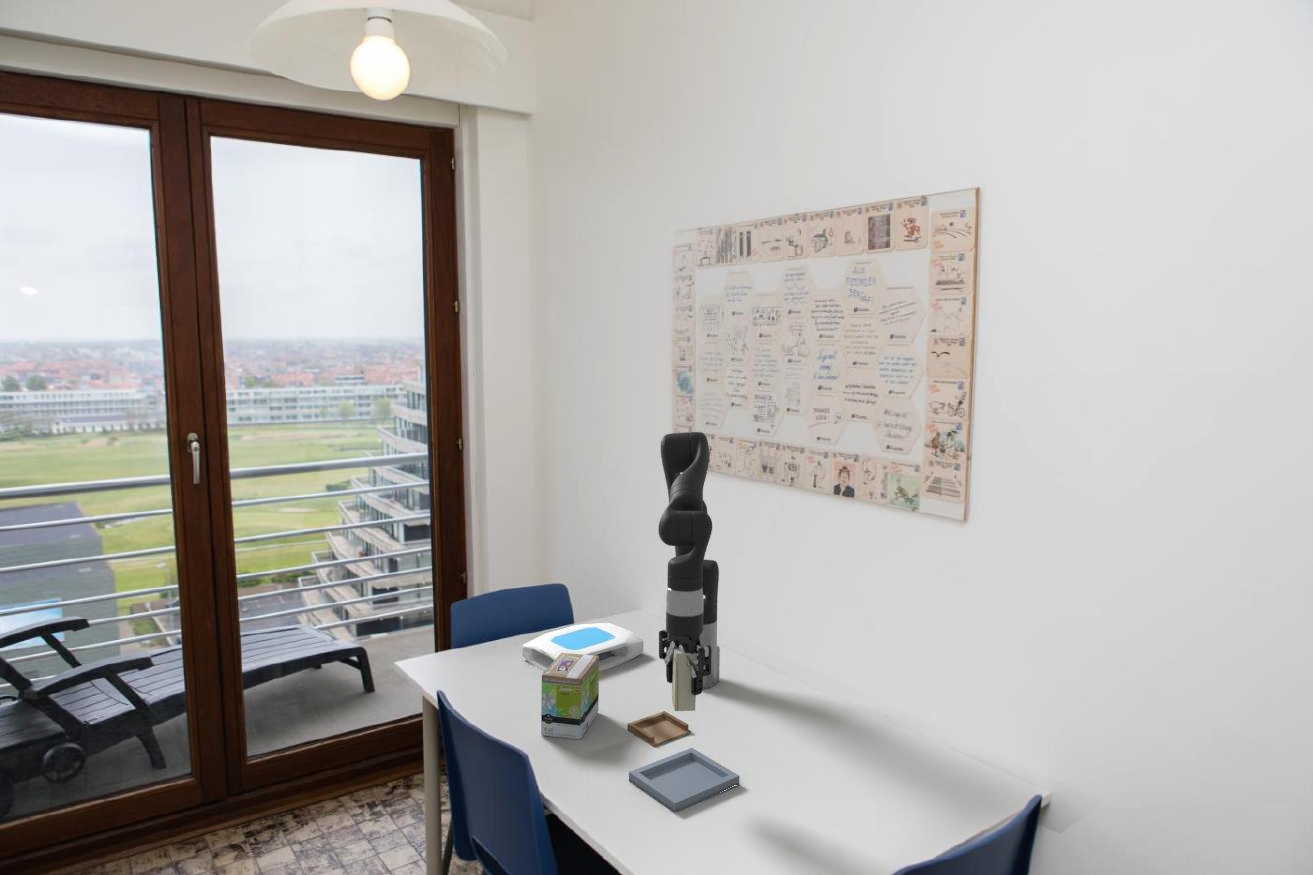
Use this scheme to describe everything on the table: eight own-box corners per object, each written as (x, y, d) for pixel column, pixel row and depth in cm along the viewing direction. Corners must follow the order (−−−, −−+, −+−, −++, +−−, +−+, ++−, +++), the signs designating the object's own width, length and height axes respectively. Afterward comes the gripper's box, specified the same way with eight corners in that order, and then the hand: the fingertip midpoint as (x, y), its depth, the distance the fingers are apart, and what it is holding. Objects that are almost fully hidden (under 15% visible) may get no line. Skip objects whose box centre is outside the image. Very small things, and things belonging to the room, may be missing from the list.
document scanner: (521, 660, 240) (521, 639, 240) (599, 637, 259) (599, 618, 258) (564, 683, 225) (564, 660, 224) (644, 657, 243) (644, 636, 242)
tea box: (582, 740, 192) (581, 678, 190) (540, 736, 194) (539, 674, 192) (599, 712, 207) (599, 654, 205) (560, 708, 209) (559, 650, 207)
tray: (691, 756, 185) (691, 747, 185) (739, 784, 173) (739, 775, 173) (628, 781, 175) (628, 771, 174) (674, 813, 163) (674, 803, 163)
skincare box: (671, 699, 175) (671, 642, 174) (692, 698, 175) (693, 641, 174) (674, 712, 169) (675, 653, 167) (696, 711, 169) (697, 652, 168)
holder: (664, 717, 204) (664, 711, 204) (691, 733, 196) (691, 726, 196) (627, 730, 197) (627, 723, 197) (653, 746, 189) (653, 739, 189)
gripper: (722, 614, 167) (721, 694, 168) (676, 597, 178) (676, 672, 180) (693, 621, 162) (692, 704, 164) (648, 603, 173) (647, 681, 175)
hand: (684, 687), depth 172 cm, fingers closed on skincare box, 7 cm apart
